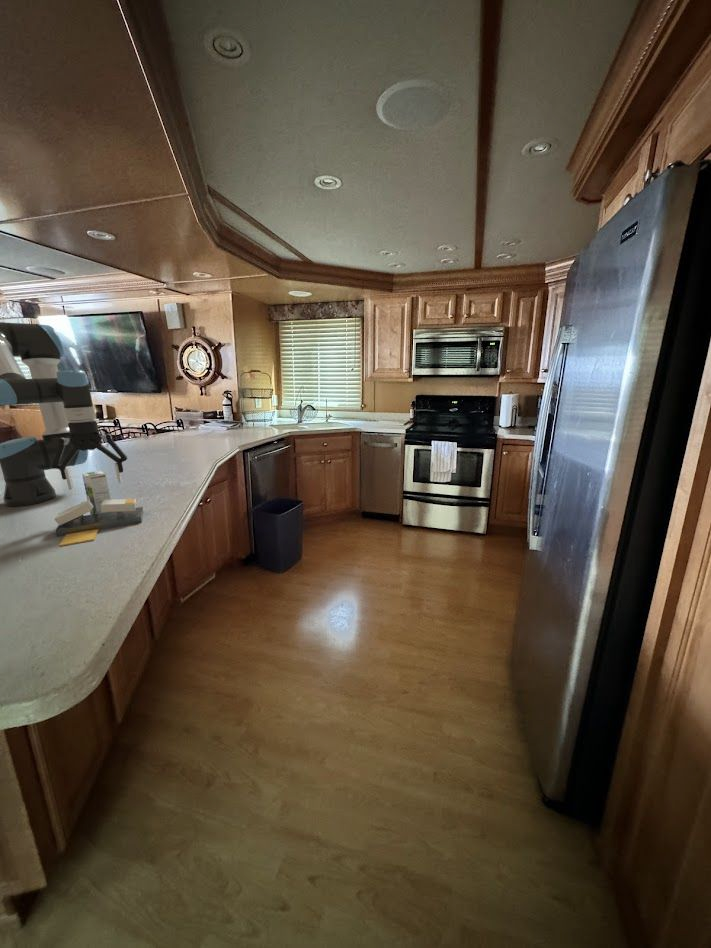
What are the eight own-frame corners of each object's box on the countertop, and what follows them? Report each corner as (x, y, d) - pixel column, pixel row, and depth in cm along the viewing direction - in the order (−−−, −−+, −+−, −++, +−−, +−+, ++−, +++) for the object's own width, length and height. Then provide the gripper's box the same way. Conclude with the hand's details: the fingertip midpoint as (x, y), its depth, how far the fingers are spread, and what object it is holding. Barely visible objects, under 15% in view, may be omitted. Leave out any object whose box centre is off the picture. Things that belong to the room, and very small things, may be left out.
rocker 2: (103, 507, 120) (103, 499, 119) (136, 506, 124) (136, 498, 124) (101, 512, 116) (101, 503, 115) (135, 510, 120) (135, 503, 119)
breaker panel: (64, 524, 119) (62, 514, 118) (143, 512, 128) (141, 502, 127) (56, 536, 110) (53, 525, 109) (141, 522, 119) (139, 512, 118)
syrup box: (89, 514, 127) (80, 473, 123) (109, 509, 131) (101, 469, 127) (94, 518, 123) (84, 476, 119) (114, 513, 127) (106, 472, 123)
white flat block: (63, 519, 116) (58, 513, 115) (93, 505, 119) (89, 499, 118) (59, 525, 112) (54, 519, 111) (90, 510, 114) (86, 504, 113)
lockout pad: (66, 535, 110) (66, 534, 110) (98, 530, 114) (98, 528, 114) (59, 546, 104) (59, 545, 103) (94, 540, 107) (94, 538, 107)
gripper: (28, 425, 110) (46, 494, 115) (126, 418, 120) (138, 482, 126) (36, 423, 116) (52, 488, 122) (128, 416, 127) (139, 477, 132)
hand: (96, 485), depth 124 cm, fingers open, 13 cm apart
